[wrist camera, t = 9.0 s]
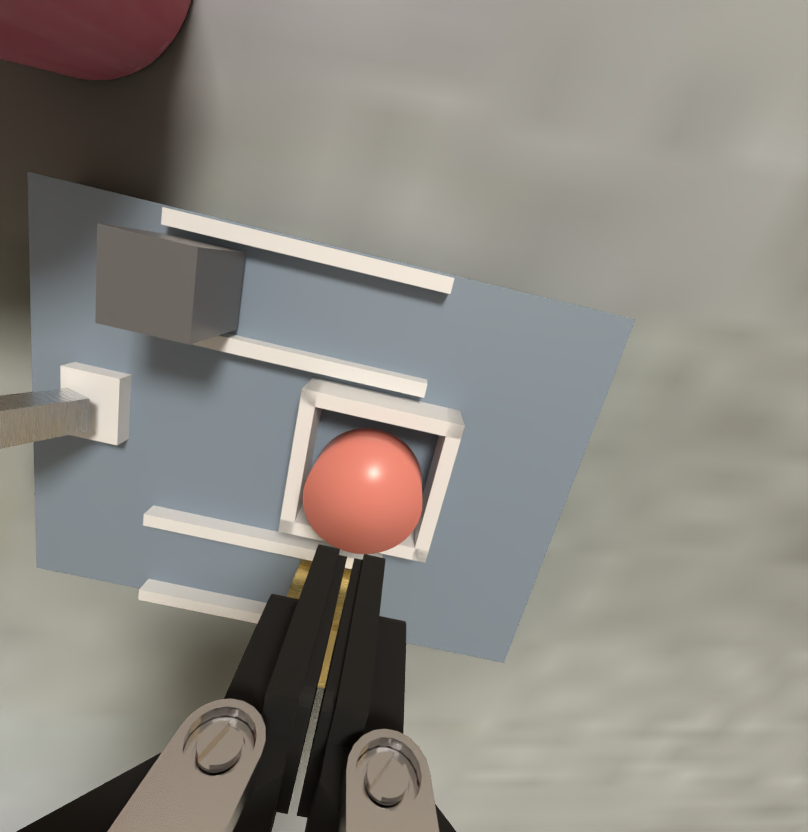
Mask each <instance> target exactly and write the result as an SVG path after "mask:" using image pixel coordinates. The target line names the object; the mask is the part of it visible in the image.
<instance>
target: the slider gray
mask: <svg viewBox="0 0 808 832" xmlns="http://www.w3.org/2000/svg"><path fill="white" fill-rule="evenodd" d="M245 254H246V253H245V252H241V251H237V250H233V249H228V248H224V247H220V246H216V245H212V244H208V243H203V242H199V241H195V240H191V239H187V238H183V237H179V236H174V235H170V234H165V233H159V232H152V231H146V230H139V229H133V228H126V227H120V226H113V225H107V224H100V223H97V264H96V315H95V323H97V324H102V325H106V326H110V327H115V328H119V329H124V330H128V331H132V332H137V333H141V334H145V335H150V336H154V337H158V338H163V339H167V340H171V341H176V342H180V343H184V344H189V345H190V344H193V343H197V342H200V341H203V340H206V339H209V338H212V337H215V336H218V335H221V334H224V333H227V332H231V331H234V330H237V323H238V314H239V306H240V297H241V288H242V280H243V271H244V262H245Z"/></svg>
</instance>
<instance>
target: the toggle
mask: <svg viewBox="0 0 808 832" xmlns="http://www.w3.org/2000/svg"><path fill="white" fill-rule="evenodd" d="M85 431H89V398H87V397H85V396H84V395H82V394H80V393H78V392H76V391H74V390H72V389H70V388H61V389H53V390H44V391H35V392H27V393H18V394H9V395H1V396H0V449H1V448H5V447H10V446H15V445H20V444H25V443H30V442H35V441H40V440H45V439H50V438H55V437H60V436H65V435H70V434H75V433H80V432H85Z"/></svg>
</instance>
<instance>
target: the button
mask: <svg viewBox="0 0 808 832" xmlns="http://www.w3.org/2000/svg"><path fill="white" fill-rule="evenodd" d="M303 507H304V511H305V514H306V517H307V519H308V521H309V523H310V525H311V526H312V528H313V529H314V531H315V532H316V533H317V534H318V535H319V536H320V537H321V538H322V539H323V540H325V541H326V542H327V543H329V544H330V545H332V546H334V547H336V548H339V549H341V550H343V551H347V552H350V553H356V554H374V553H379V552H383V551H386V550H389V549H391V548H393V547H395V546H397V545H399V544H400V543H402V542H403V541H404V540H405V539H406V538H407V537H408V536H409V535H410V534H411V533H412V532H413V530H414V529H415V527H416V525H417V524H418V522H419V519H420V516H421V511H422V476H421V469H420V465H419V462H418V460H417V458H416V456H415V454H414V453H413V451H412V450H411V449H410V447H409V446H408V445H407V444H406V443H405V442H403V441H402V440H401V439H400V438H398V437H396V436H395V435H393V434H391V433H388V432H386V431H382V430H379V429H373V428H360V429H354V430H350V431H347V432H344V433H342V434H340V435H338V436H336V437H335V438H334V439H332V440H331V441H330V442H329V443H328V444H327V445H326V446H325V447H324V448H323V450H322V451H321V453H320V454H319V456H318V458H317V460H316V462H315V464H314V466H313V468H312V470H311V472H310V473H309V475H308V477H307V480H306V482H305V486H304V489H303Z"/></svg>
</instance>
